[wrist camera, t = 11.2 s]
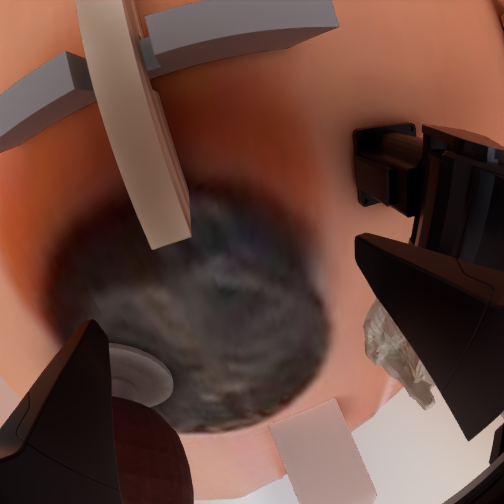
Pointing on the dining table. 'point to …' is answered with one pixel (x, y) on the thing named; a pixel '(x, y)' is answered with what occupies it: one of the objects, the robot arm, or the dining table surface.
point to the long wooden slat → (134, 119)
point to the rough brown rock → (502, 19)
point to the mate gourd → (146, 431)
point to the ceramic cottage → (396, 355)
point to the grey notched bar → (163, 54)
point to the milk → (322, 457)
